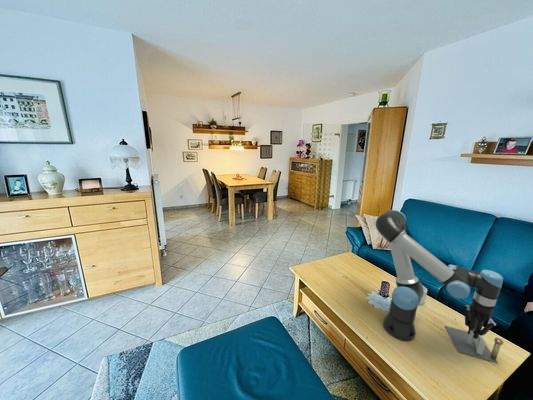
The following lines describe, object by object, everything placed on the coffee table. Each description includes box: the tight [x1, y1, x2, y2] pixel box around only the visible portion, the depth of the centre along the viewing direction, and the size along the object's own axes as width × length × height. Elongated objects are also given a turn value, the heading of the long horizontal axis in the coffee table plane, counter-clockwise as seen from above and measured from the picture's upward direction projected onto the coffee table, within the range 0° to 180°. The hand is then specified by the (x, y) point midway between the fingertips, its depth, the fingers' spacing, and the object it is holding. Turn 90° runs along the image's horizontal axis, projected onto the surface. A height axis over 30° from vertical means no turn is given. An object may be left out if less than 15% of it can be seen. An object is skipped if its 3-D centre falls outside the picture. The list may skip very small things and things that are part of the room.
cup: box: [418, 285, 428, 306], centre depth 142 cm, size 8×12×10 cm
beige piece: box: [475, 335, 487, 355], centre depth 109 cm, size 12×2×7 cm, turn 143°
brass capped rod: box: [490, 337, 504, 360], centre depth 103 cm, size 3×3×11 cm
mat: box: [444, 325, 499, 364], centre depth 113 cm, size 15×17×1 cm
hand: (470, 341), depth 110 cm, fingers closed
